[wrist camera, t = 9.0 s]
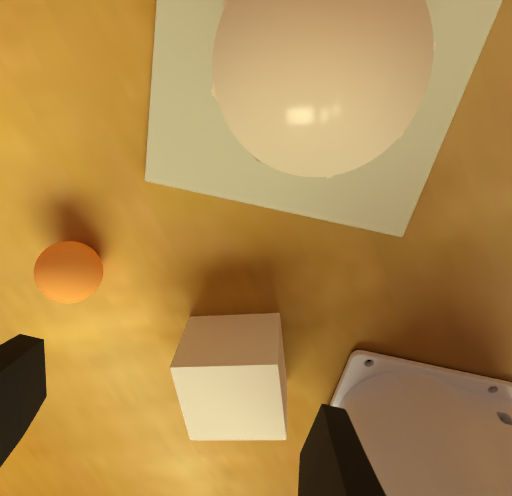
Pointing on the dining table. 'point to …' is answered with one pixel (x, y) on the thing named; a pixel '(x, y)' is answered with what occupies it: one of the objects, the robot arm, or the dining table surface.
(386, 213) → the sage mat
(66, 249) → the orange ball
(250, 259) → the dining table surface
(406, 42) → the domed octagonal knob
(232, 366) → the cream block
